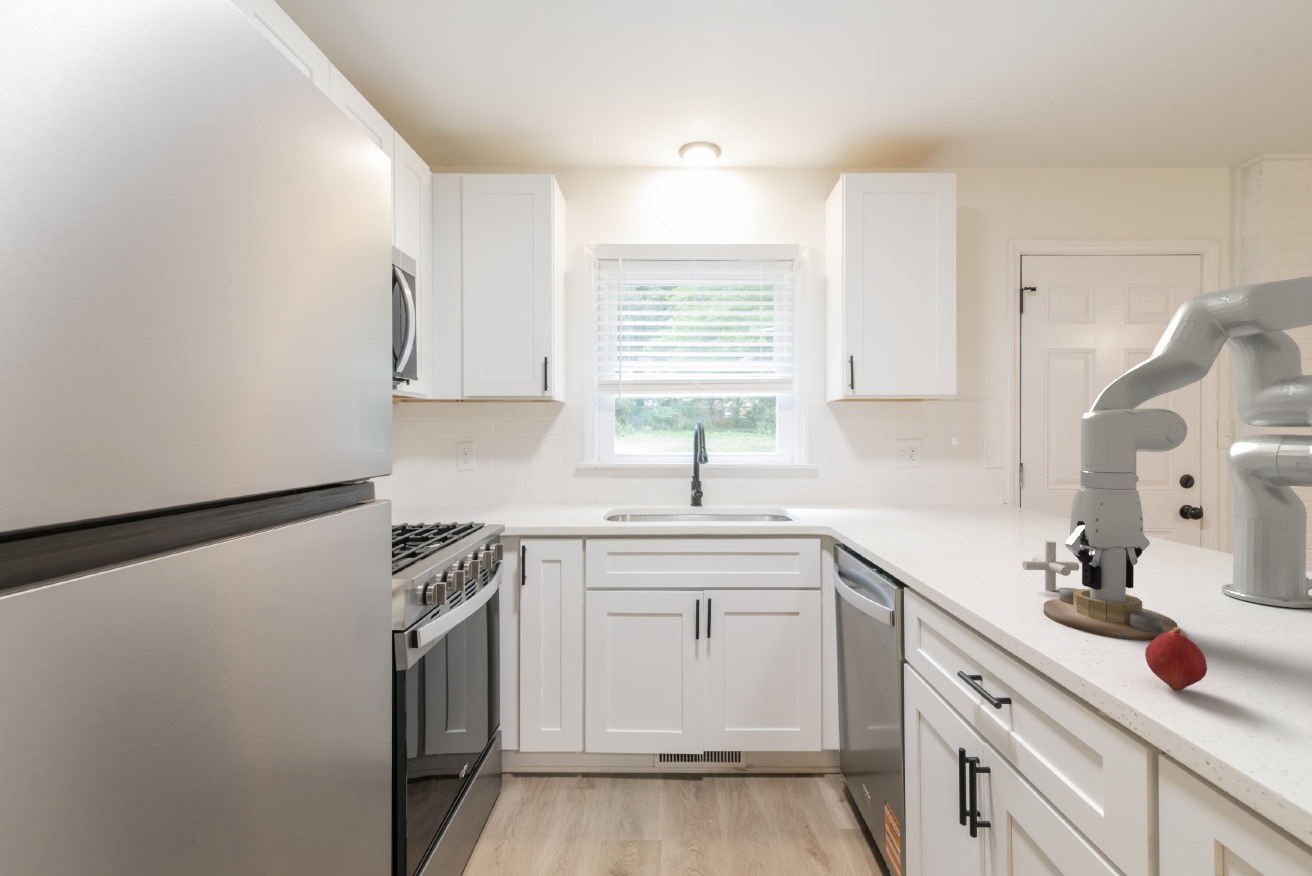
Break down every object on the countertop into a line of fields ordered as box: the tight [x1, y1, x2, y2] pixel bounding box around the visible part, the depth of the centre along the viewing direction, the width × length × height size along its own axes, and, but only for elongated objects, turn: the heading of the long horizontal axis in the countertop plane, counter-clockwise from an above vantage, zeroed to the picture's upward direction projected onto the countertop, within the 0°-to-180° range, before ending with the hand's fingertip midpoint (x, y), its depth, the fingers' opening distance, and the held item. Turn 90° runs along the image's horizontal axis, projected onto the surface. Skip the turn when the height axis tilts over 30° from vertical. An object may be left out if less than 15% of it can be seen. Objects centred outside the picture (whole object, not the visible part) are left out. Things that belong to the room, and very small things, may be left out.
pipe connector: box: [1021, 540, 1080, 592], centre depth 116 cm, size 10×10×10 cm
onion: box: [1144, 627, 1208, 691], centre depth 72 cm, size 6×6×8 cm
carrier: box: [1043, 587, 1178, 641], centre depth 98 cm, size 18×18×4 cm
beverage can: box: [1089, 547, 1127, 603], centre depth 98 cm, size 5×5×12 cm
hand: (1107, 585), depth 98 cm, fingers open, 5 cm apart
